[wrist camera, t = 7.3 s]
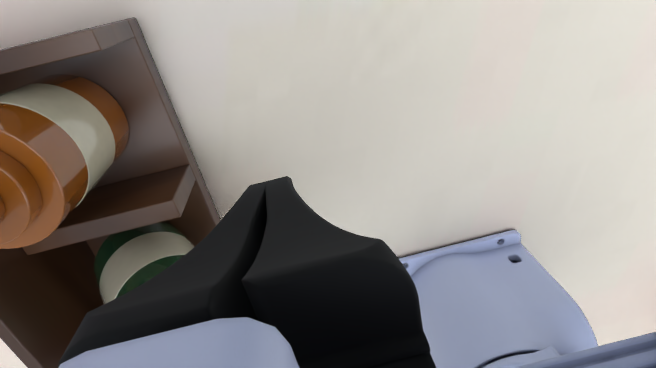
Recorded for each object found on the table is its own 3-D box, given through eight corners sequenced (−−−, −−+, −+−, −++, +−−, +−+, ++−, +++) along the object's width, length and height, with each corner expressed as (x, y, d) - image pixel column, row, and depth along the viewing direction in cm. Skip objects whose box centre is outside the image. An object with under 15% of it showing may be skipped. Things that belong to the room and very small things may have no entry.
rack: (135, 16, 19) (49, 38, 12) (240, 266, 26) (227, 374, 19) (-27, 56, 19) (-217, 103, 11) (125, 295, 26) (69, 414, 19)
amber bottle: (100, 62, 18) (-78, 143, 9) (146, 157, 21) (43, 298, 11) (-4, 87, 18) (-290, 196, 9) (54, 179, 21) (-125, 339, 11)
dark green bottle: (168, 202, 22) (254, 289, 14) (201, 269, 25) (289, 375, 17) (73, 249, 20) (113, 383, 12) (119, 317, 22) (177, 467, 14)
